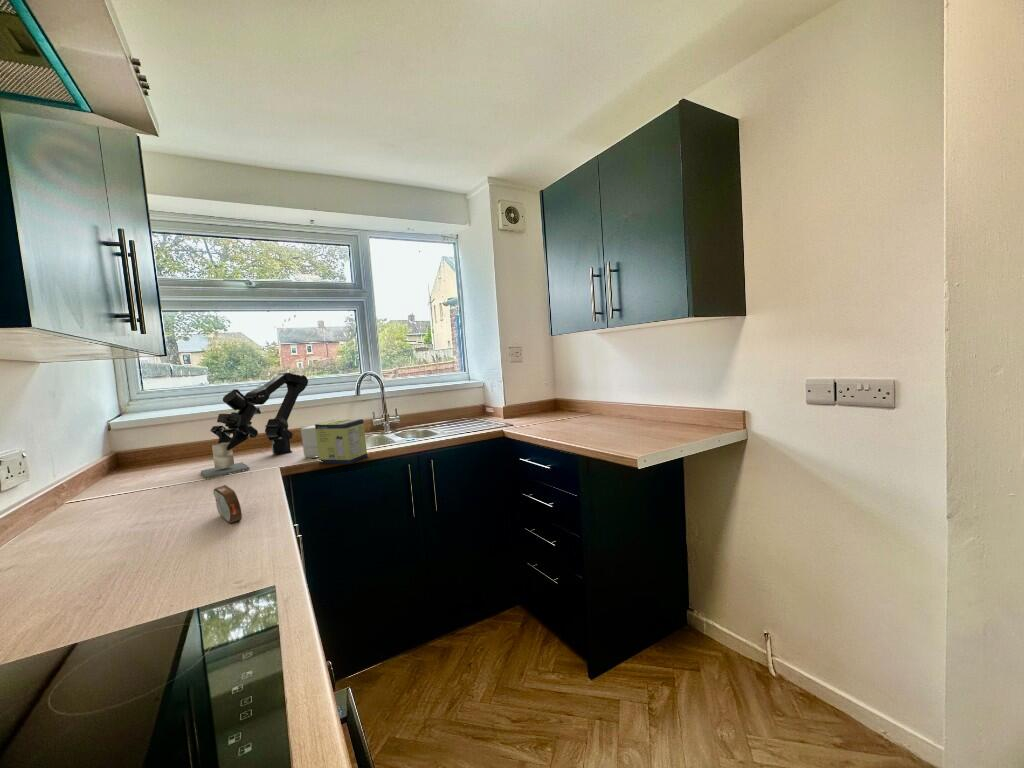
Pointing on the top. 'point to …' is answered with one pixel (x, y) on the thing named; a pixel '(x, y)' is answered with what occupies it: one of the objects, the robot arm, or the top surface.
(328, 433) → the protein box
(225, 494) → the tin
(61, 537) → the top surface
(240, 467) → the rubber mat
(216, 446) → the cream rectangular block
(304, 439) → the supplement box
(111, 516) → the top surface
